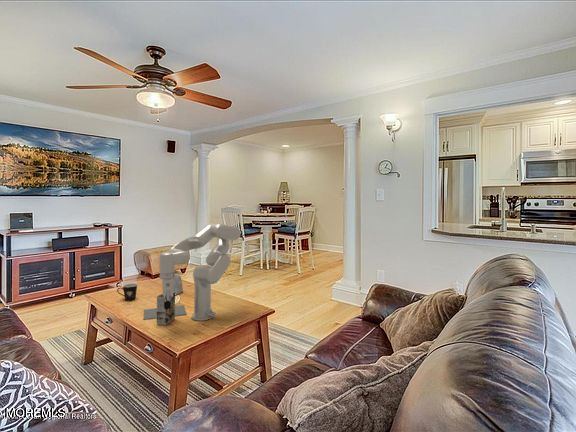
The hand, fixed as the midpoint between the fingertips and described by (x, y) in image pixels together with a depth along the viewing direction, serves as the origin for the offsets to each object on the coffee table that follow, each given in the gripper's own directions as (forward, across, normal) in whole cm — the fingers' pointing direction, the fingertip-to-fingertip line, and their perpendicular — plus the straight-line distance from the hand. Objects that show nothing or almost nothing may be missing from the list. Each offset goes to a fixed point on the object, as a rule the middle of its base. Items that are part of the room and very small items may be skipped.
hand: (167, 308), depth 168 cm
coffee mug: (+12, +58, +22) cm, 63 cm away
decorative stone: (+12, +60, -9) cm, 62 cm away
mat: (+12, +26, 0) cm, 29 cm away
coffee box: (+12, +11, 0) cm, 17 cm away
